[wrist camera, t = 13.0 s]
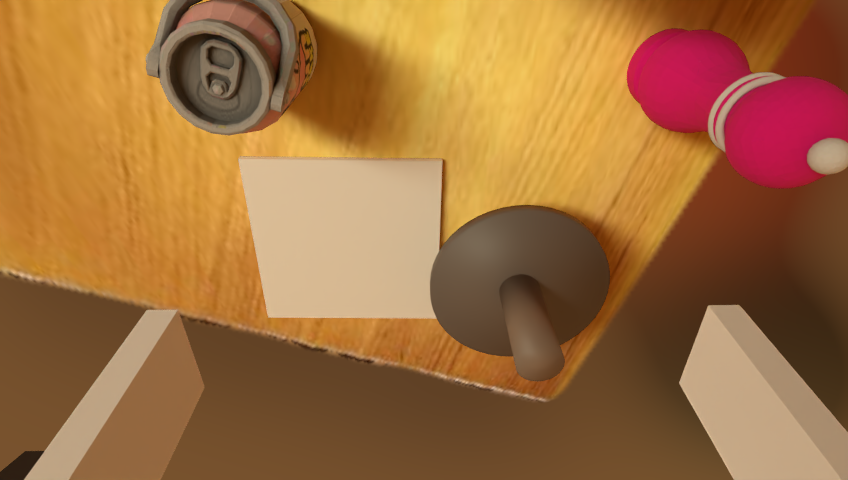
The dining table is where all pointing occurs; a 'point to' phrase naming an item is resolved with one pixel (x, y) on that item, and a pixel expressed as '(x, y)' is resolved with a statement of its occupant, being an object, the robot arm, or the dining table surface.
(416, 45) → the dining table surface
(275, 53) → the beverage can
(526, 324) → the lid
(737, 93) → the pepper mill
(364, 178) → the mat
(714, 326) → the robot arm
